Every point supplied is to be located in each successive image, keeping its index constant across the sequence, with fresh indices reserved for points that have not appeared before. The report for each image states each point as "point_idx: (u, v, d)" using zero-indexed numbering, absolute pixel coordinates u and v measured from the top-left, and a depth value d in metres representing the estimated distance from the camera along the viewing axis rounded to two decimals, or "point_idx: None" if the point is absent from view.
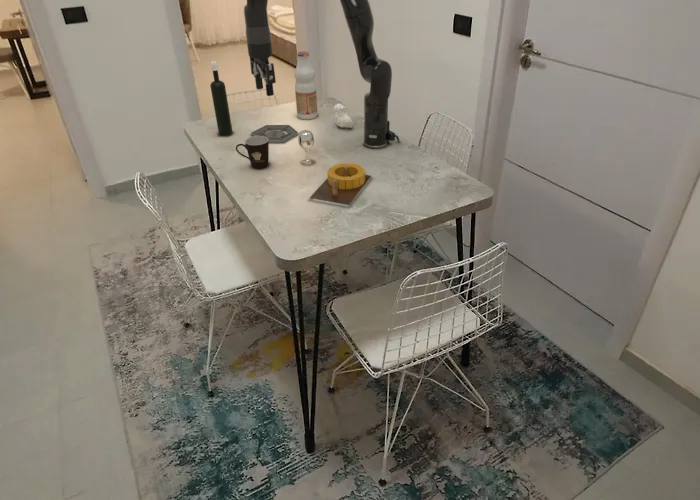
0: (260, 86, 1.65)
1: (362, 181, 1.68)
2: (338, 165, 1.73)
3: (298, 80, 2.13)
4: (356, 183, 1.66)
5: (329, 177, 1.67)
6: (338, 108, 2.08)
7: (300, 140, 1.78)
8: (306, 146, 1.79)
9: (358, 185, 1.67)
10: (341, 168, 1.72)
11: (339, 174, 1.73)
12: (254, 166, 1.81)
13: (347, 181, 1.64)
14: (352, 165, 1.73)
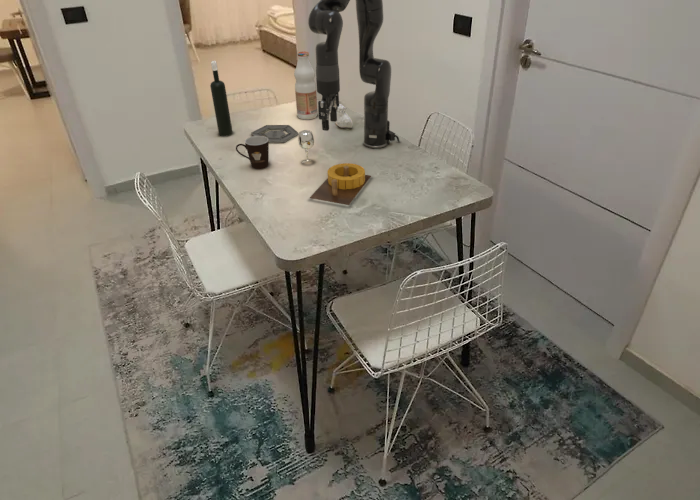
0: (334, 119, 1.70)
1: (362, 181, 1.68)
2: (338, 165, 1.73)
3: (298, 80, 2.13)
4: (356, 183, 1.66)
5: (329, 177, 1.67)
6: (338, 108, 2.08)
7: (300, 140, 1.78)
8: (306, 146, 1.79)
9: (358, 185, 1.67)
10: (341, 168, 1.72)
11: (339, 174, 1.73)
12: (254, 166, 1.81)
13: (347, 181, 1.64)
14: (352, 165, 1.73)
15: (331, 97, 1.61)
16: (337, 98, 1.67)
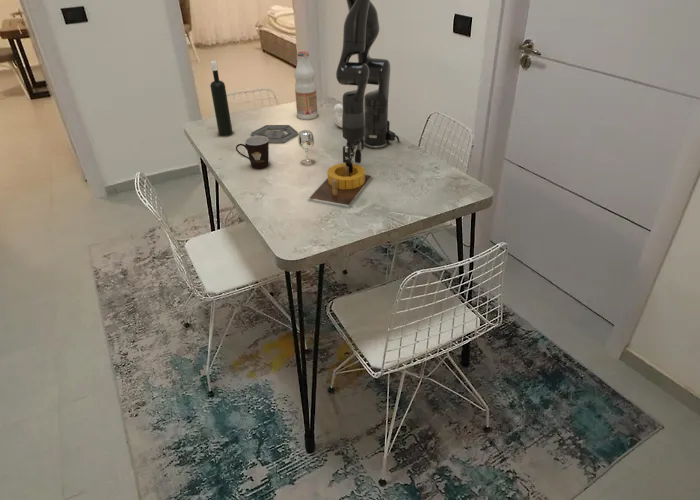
0: (358, 160, 1.78)
1: (362, 181, 1.68)
2: (338, 165, 1.73)
3: (298, 80, 2.13)
4: (356, 183, 1.66)
5: (329, 177, 1.67)
6: (338, 108, 2.08)
7: (300, 140, 1.78)
8: (306, 146, 1.79)
9: (358, 185, 1.67)
10: (341, 168, 1.72)
11: (339, 174, 1.73)
12: (254, 166, 1.81)
13: (347, 181, 1.64)
14: None
15: (356, 141, 1.69)
16: (362, 141, 1.75)
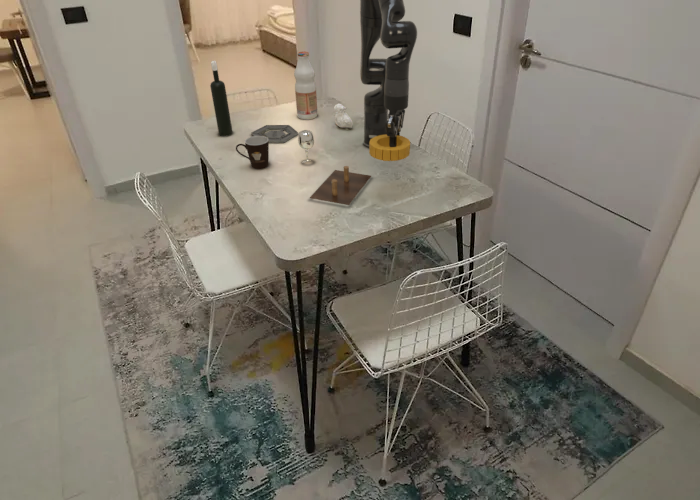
0: None
1: (407, 152, 1.54)
2: (380, 136, 1.59)
3: (298, 80, 2.13)
4: (402, 154, 1.52)
5: (372, 148, 1.53)
6: (338, 108, 2.08)
7: (300, 140, 1.78)
8: (306, 146, 1.79)
9: (403, 156, 1.53)
10: (383, 139, 1.59)
11: (381, 146, 1.59)
12: (254, 166, 1.81)
13: (392, 152, 1.50)
14: None
15: (398, 112, 1.54)
16: (402, 118, 1.59)
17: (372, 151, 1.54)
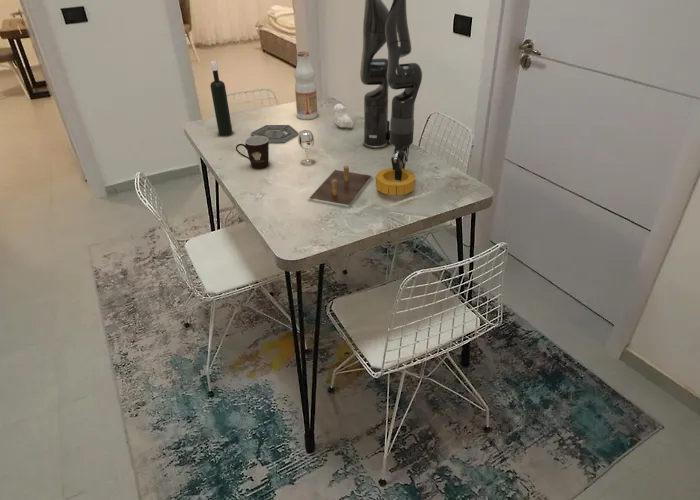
0: None
1: (413, 186, 1.59)
2: (386, 170, 1.64)
3: (298, 80, 2.13)
4: (407, 188, 1.57)
5: (378, 182, 1.59)
6: (338, 108, 2.08)
7: (300, 140, 1.78)
8: (306, 146, 1.79)
9: (409, 191, 1.58)
10: (389, 173, 1.64)
11: (387, 179, 1.65)
12: (254, 166, 1.81)
13: (398, 186, 1.56)
14: None
15: (403, 148, 1.60)
16: (407, 152, 1.65)
17: (378, 185, 1.59)
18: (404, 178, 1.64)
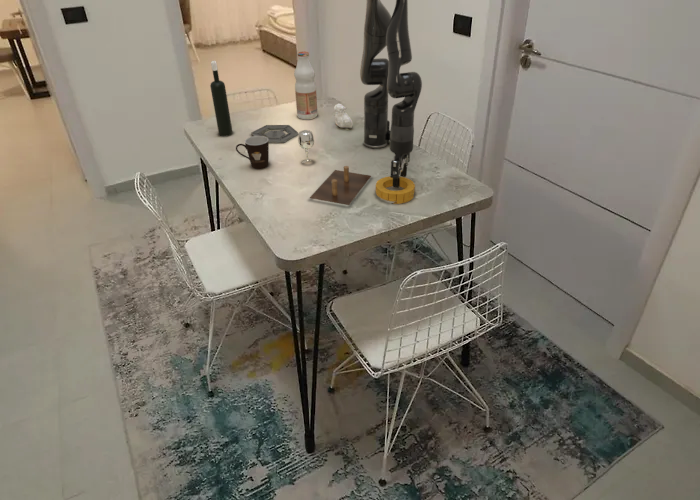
0: (403, 174, 1.70)
1: (412, 195, 1.61)
2: (385, 178, 1.66)
3: (298, 80, 2.13)
4: (407, 197, 1.59)
5: (378, 191, 1.61)
6: (338, 108, 2.08)
7: (300, 140, 1.78)
8: (306, 146, 1.79)
9: (408, 199, 1.60)
10: (389, 181, 1.66)
11: (386, 187, 1.67)
12: (254, 166, 1.81)
13: (398, 195, 1.58)
14: (400, 178, 1.66)
15: (403, 155, 1.61)
16: (408, 154, 1.67)
17: (378, 194, 1.61)
18: (404, 186, 1.66)
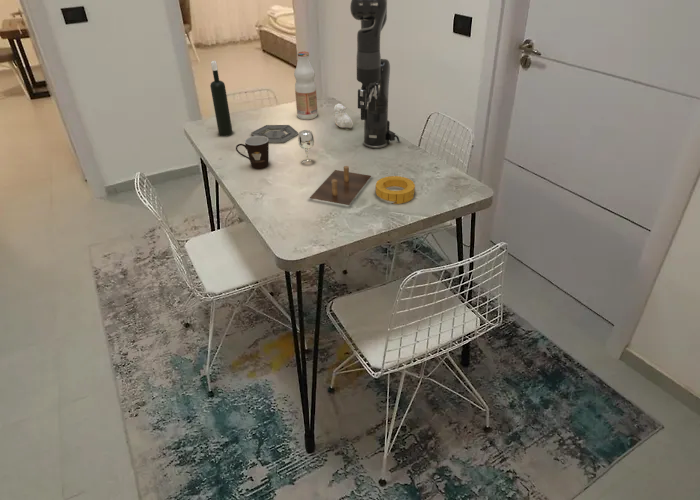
0: (373, 108, 1.65)
1: (412, 195, 1.61)
2: (385, 178, 1.66)
3: (298, 80, 2.13)
4: (407, 197, 1.59)
5: (378, 191, 1.61)
6: (338, 108, 2.08)
7: (300, 140, 1.78)
8: (306, 146, 1.79)
9: (408, 199, 1.60)
10: (389, 181, 1.66)
11: (386, 187, 1.67)
12: (254, 166, 1.81)
13: (398, 195, 1.58)
14: (400, 178, 1.66)
15: (371, 85, 1.56)
16: (377, 87, 1.62)
17: (378, 194, 1.61)
18: (404, 186, 1.66)
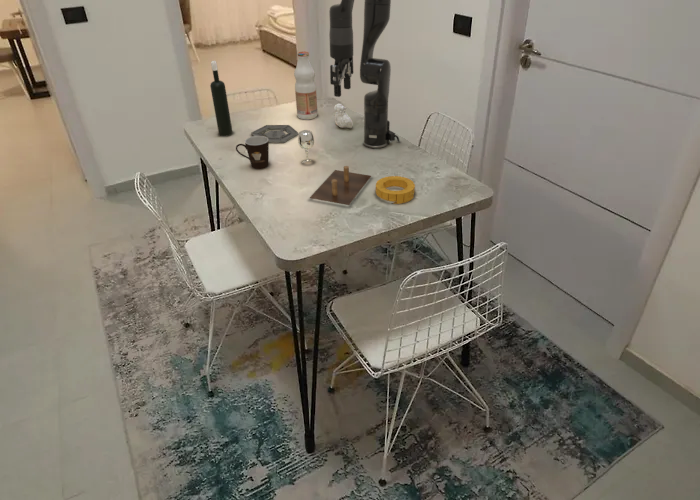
0: (347, 86, 1.67)
1: (412, 195, 1.61)
2: (385, 178, 1.66)
3: (298, 80, 2.13)
4: (407, 197, 1.59)
5: (378, 191, 1.61)
6: (338, 108, 2.08)
7: (300, 140, 1.78)
8: (306, 146, 1.79)
9: (408, 199, 1.60)
10: (389, 181, 1.66)
11: (386, 187, 1.67)
12: (254, 166, 1.81)
13: (398, 195, 1.58)
14: (400, 178, 1.66)
15: (344, 62, 1.59)
16: (351, 65, 1.65)
17: (378, 194, 1.61)
18: (404, 186, 1.66)
